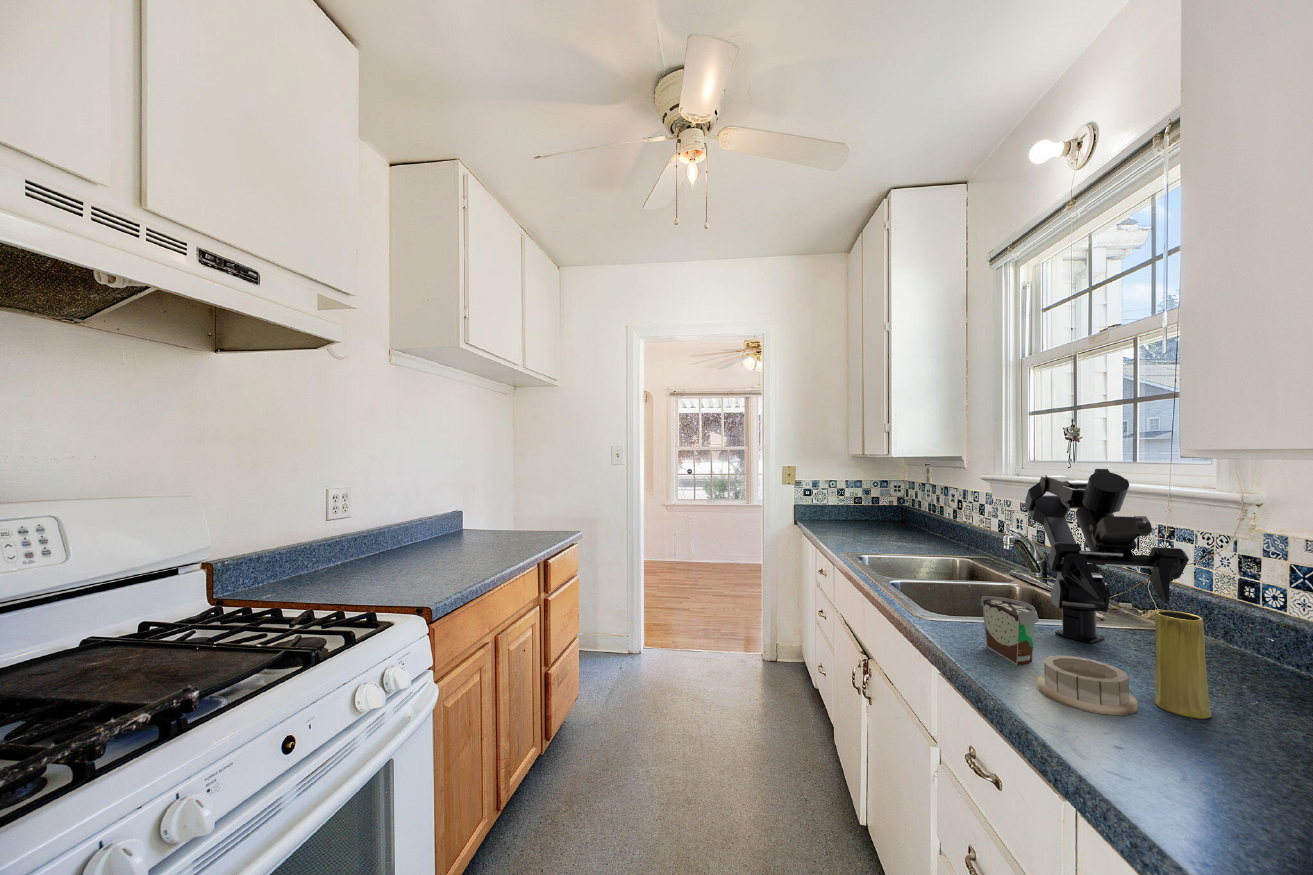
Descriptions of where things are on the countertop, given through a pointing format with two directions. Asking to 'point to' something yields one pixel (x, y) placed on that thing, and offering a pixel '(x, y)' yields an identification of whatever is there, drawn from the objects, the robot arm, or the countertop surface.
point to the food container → (1009, 628)
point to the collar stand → (1087, 685)
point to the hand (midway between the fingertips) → (1131, 599)
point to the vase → (1181, 665)
